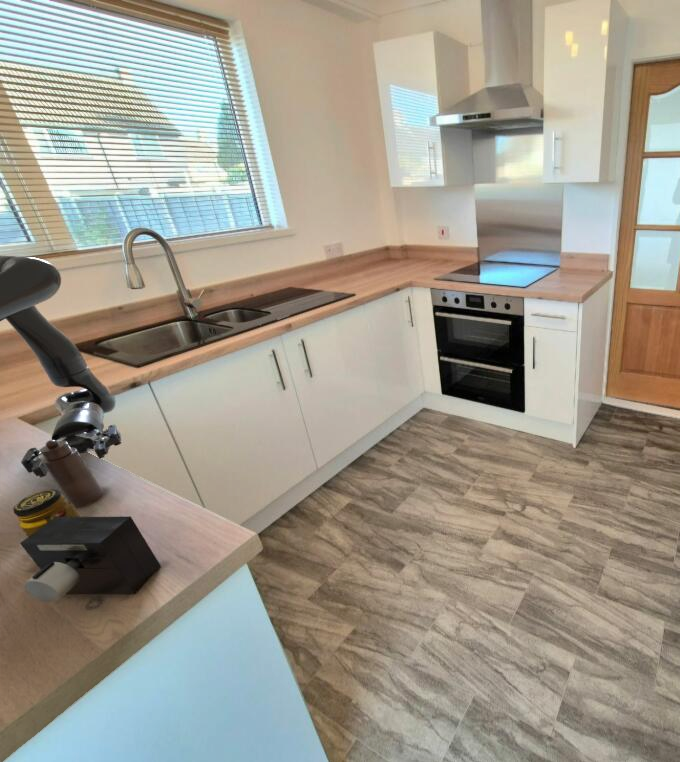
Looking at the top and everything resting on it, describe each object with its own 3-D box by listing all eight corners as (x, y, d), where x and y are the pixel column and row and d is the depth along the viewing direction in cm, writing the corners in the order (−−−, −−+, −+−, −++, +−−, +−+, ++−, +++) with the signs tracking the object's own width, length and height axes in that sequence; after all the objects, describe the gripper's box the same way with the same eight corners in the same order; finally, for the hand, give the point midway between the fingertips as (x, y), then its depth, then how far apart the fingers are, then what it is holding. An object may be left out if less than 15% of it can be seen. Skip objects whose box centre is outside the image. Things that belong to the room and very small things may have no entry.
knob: (65, 602, 57) (46, 579, 55) (35, 602, 58) (15, 579, 56) (99, 571, 62) (82, 548, 60) (71, 571, 62) (53, 548, 60)
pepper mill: (66, 511, 81) (23, 450, 75) (84, 494, 86) (45, 435, 79) (93, 507, 82) (54, 446, 76) (110, 490, 86) (74, 431, 80)
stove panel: (135, 597, 63) (99, 543, 58) (60, 596, 64) (18, 543, 59) (162, 568, 68) (130, 516, 63) (92, 568, 69) (55, 516, 64)
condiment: (35, 570, 69) (-9, 514, 63) (86, 530, 76) (50, 477, 71) (76, 572, 68) (34, 515, 63) (123, 531, 76) (89, 477, 70)
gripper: (24, 427, 88) (7, 463, 77) (112, 403, 96) (108, 432, 84) (44, 457, 92) (30, 495, 80) (128, 431, 99) (126, 463, 88)
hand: (70, 463), depth 82 cm, fingers open, 8 cm apart
